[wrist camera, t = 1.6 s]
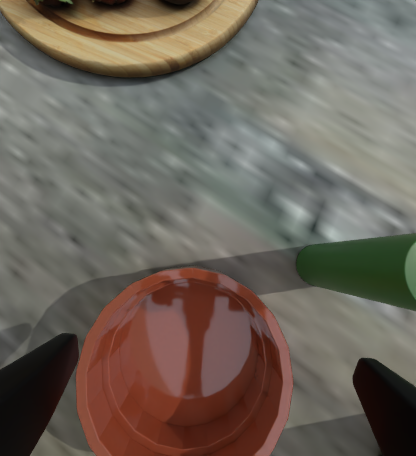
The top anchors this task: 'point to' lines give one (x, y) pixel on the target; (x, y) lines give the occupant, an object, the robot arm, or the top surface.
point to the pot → (184, 370)
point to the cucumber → (365, 268)
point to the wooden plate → (128, 31)
